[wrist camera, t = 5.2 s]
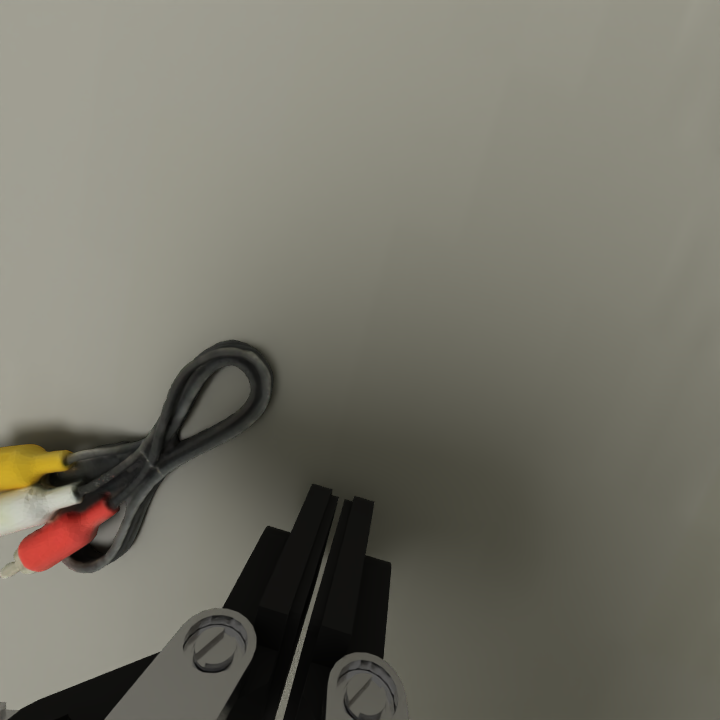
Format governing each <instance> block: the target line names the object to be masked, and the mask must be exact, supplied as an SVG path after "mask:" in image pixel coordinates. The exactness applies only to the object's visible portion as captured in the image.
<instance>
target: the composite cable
mask: <svg viewBox="0 0 720 720" xmlns="http://www.w3.org/2000/svg"><path fill="white" fill-rule="evenodd" d="M230 365H234V366H236V367H238V368H239V369H241V370H242V371H243V372H244V373H245V374H246V376H247V377H248V379H249V383H250V387H251V392H250V396H249V398H248V400H247V401H246V403H245V404H244V405H243V406H242V408H240V409H239V410H238V411H237V412H236V413H234V414H232V415H231V416H229V417H228V418H227V419H225V420H223V421H221V422H220V423H218V424H216V425H214V426H212V427H211V428H209V429H206V430H204V431H202V432H200V433H198V434H197V435H194V436H193V437H191V438H189V439H186V440H183V441H181V442H180V441H179V440H178V438H177V432H178V430H179V428H180V427H181V426H182V424H183V422H184V420H185V418H186V416H187V415H188V413H189V411H190V410H191V408H192V405H193V403H194V401H195V399H196V397H197V395H198V394H199V392H200V390H201V388H202V386H203V385H204V383H205V381H206V380H207V379H208V378H209V376H210V375H211V374H212V373H213V372H215V371H216V370H217V369H219V368H222V367H225V366H230ZM272 387H273V374H272V370H271V368H270V366H269V364H268V363H267V361H266V359H265V358H264V357H263V355H262V354H261V353H260V352H259V351H257V350H256V349H255V348H253V347H251V346H250V345H248V344H246V343H243V342H240V341H236V340H228V341H223V342H219V343H217V344H215V345H214V346H212V347H210V348H208V349H206V350H205V351H203V352H202V353H201V354H199V355H198V356H197V357H196V358H195V359H194V360H193V361H191V362H190V363H188V364H187V365H186V366H185V367H184V368H183V369H182V370H181V371H180V373H179V374H178V375H177V377H176V379H175V380H174V382H173V384H172V385H171V388H170V390H169V392H168V395H167V399H166V401H165V403H164V405H163V409H162V412H161V416H160V417H159V419H158V421H157V423H156V424H155V425H154V427H153V429H152V430H151V431H150V433H149V434H148V436H147V437H146V438H144V439H142V440H140V441H136V442H132V443H129V442H128V441H123V442H120V443H117V444H108V445H103V446H99V447H96V448H93V449H88V450H82V451H78V452H76V453H73V452H71V451H68V450H60V451H52V452H46V450H45V449H44V448H42V447H41V446H38V445H35V444H25V445H16V446H7V447H0V537H1V536H4V535H7V534H10V533H13V532H17V531H20V530H23V529H28V528H30V527H34V526H39V525H42V524H44V523H46V522H47V523H46V524H45V525H44V526H43V527H42V528H40V529H38V530H36V531H34V532H33V533H31V534H29V535H28V536H27V537H25V538H24V539H23V540H22V542H21V543H20V545H19V548H18V549H17V550H16V551H15V553H14V560H15V562H12V563H9V564H7V565H6V566H5V567H4V568H2V569H1V571H0V576H1V577H2V578H9V577H11V576H13V575H14V574H16V573H17V572H19V571H21V572H22V573H24V574H32V573H35V572H41V571H44V570H47V569H49V568H51V567H52V566H54V565H55V564H57V563H59V562H60V561H62V562H63V563H64V564H65V565H66V566H67V567H68V568H69V569H71V570H73V571H76V572H80V573H92V572H95V571H97V570H100V569H101V568H103V567H104V566H106V565H108V564H110V563H111V562H113V561H115V560H116V559H118V558H119V557H121V556H122V555H123V554H124V553H126V552H127V551H128V549H129V548H130V547H131V545H132V543H133V541H134V539H135V537H136V535H137V532H138V530H139V527H140V526H141V522H142V520H143V518H144V515H145V511H146V509H147V507H148V505H149V503H150V501H151V499H152V496H153V494H154V493H155V491H156V489H157V487H158V486H159V484H160V483H161V482H162V480H163V479H164V477H165V476H166V475H167V474H168V473H170V472H171V471H172V470H174V469H175V468H177V467H179V466H180V465H182V464H184V463H186V462H188V461H189V460H191V459H193V458H195V457H197V456H199V455H200V454H203V453H205V452H207V451H209V450H211V449H213V448H215V447H217V446H219V445H221V444H223V443H224V442H226V441H228V440H229V439H232V438H234V437H236V436H237V435H239V434H240V433H242V432H243V431H244V430H245V429H247V428H248V427H250V426H251V425H252V424H253V423H254V422H255V421H257V419H258V418H259V417H260V416H261V415H262V414H263V412H264V411H265V409H266V407H267V405H268V402H269V400H270V397H271V393H272ZM122 502H126V511H125V516H124V519H123V521H122V523H121V525H120V528H119V531H118V532H117V534H116V536H115V538H114V541H113V543H112V545H111V548H110V549H109V551H108V552H107V553H106V554H105V555H104V554H101V553H98V552H97V551H96V550H95V549H94V548H93V547H92V546H91V545H90V542H91V541H92V540H93V539H94V538H95V536H96V535H97V531H98V527H99V525H100V524H101V523H103V522H104V521H106V520H107V519H109V518H111V517H112V516H113V515H115V514H116V513H117V512H118V511H119V510H120V507H119V504H121V503H122Z"/></svg>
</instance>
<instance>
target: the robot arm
mask: <svg viewBox="0 0 720 720" xmlns="http://www.w3.org/2000/svg"><path fill="white" fill-rule="evenodd" d="M331 494H332V489H329V488H326V487H322V486H319V485H316V484H312V486H311V488H310V490H309V493H308V495H307V497H306V499H305V502H304V504H303V506H302V508H301V511H300V513H299V515H298V517H297V520H296V522H295V524H294V526H293V529H292V531H291V533H290V532H287V531H284V530H280V529H277V528H274V527H271V526H267V527H266V529H265V530H264V532H263V534H262V536H261V537H260V539H259V541H258V543H257V545H256V547H255V549H254V550H253V552H252V554H251V556H250V558H249V560H248V562H247V563H246V565H245V567H244V569H243V571H242V573H241V575H240V576H239V578H238V580H237V582H236V584H235V586H234V588H233V589H232V591H231V593H230V595H229V597H228V599H227V601H226V602H225V604H224V606H223V608H214V609H210V610H205V611H202V612H200V613H198V614H196V615H194V616H192V617H191V618H190V619H189V620H188V621H187V622H186V623H185V624H183V625H182V627H181V628H180V629H179V630H178V631H177V633H176V634H175V635H174V636H173V637H172V639H171V640H170V641H169V642H168V643H167V645H166V646H165V647H164V648H163V649H162V651H161V652H158V653H156V654H153V655H151V656H148V657H146V658H143V659H141V660H138V661H136V662H133V663H131V664H128V665H126V666H123V667H121V668H118V669H115V670H113V671H110V672H108V673H105V674H103V675H100V676H98V677H95V678H93V679H90V680H88V681H85V682H83V683H80V684H78V685H75V686H73V687H70V688H67V689H65V690H62V691H60V692H57V693H55V694H52V695H50V696H47V697H45V698H42V699H40V700H37V701H36V702H34V703H32V704H30V705H28V706H26V707H24V708H22V709H20V710H6V702H0V720H275V717H276V713H277V710H278V707H279V703H280V700H281V697H282V694H283V690H284V687H285V684H286V680H287V677H288V674H289V670H290V667H291V664H292V661H293V657H294V654H295V651H296V647H297V644H298V641H299V637H300V634H301V631H302V628H303V624H304V621H305V618H306V614H307V611H308V608H309V605H310V601H311V598H312V595H313V591H314V588H315V584H316V581H317V577H318V573H319V570H320V566H321V562H322V558H323V555H324V551H325V547H326V543H327V540H328V536H329V532H330V528H331V525H332V521H333V517H334V513H335V510H336V506H337V502H338V498H339V497H336V496H333V495H331ZM373 507H374V502H373V501H370V500H367V499H363V498H360V497H356V496H354V499H353V501H350V500H346V499H345V501H344V505H343V508H342V511H341V515H340V518H339V522H338V525H337V529H336V532H335V536H334V539H333V543H332V546H331V549H330V553H329V556H328V560H327V563H326V567H325V570H324V574H323V577H322V581H321V584H320V587H319V591H318V594H317V598H316V601H315V605H314V608H313V612H312V615H311V619H310V622H309V626H308V630H307V633H306V637H305V641H304V644H303V648H302V652H301V655H300V659H299V663H298V666H297V670H296V674H295V678H294V681H293V685H292V689H291V692H290V696H289V700H288V704H287V707H286V711H285V715H284V718H283V720H409V714H408V705H407V697H406V693H405V689H404V685H403V683H402V681H401V679H400V677H399V676H398V674H397V672H396V671H395V670H394V669H393V668H392V667H391V666H390V665H389V664H388V663H387V662H386V661H384V660H383V657H384V645H385V634H386V622H387V611H388V599H389V588H390V576H391V563H390V562H386V561H383V560H380V559H376V558H373V557H370V556H366V555H365V553H366V548H367V542H368V536H369V530H370V525H371V519H372V513H373Z"/></svg>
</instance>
